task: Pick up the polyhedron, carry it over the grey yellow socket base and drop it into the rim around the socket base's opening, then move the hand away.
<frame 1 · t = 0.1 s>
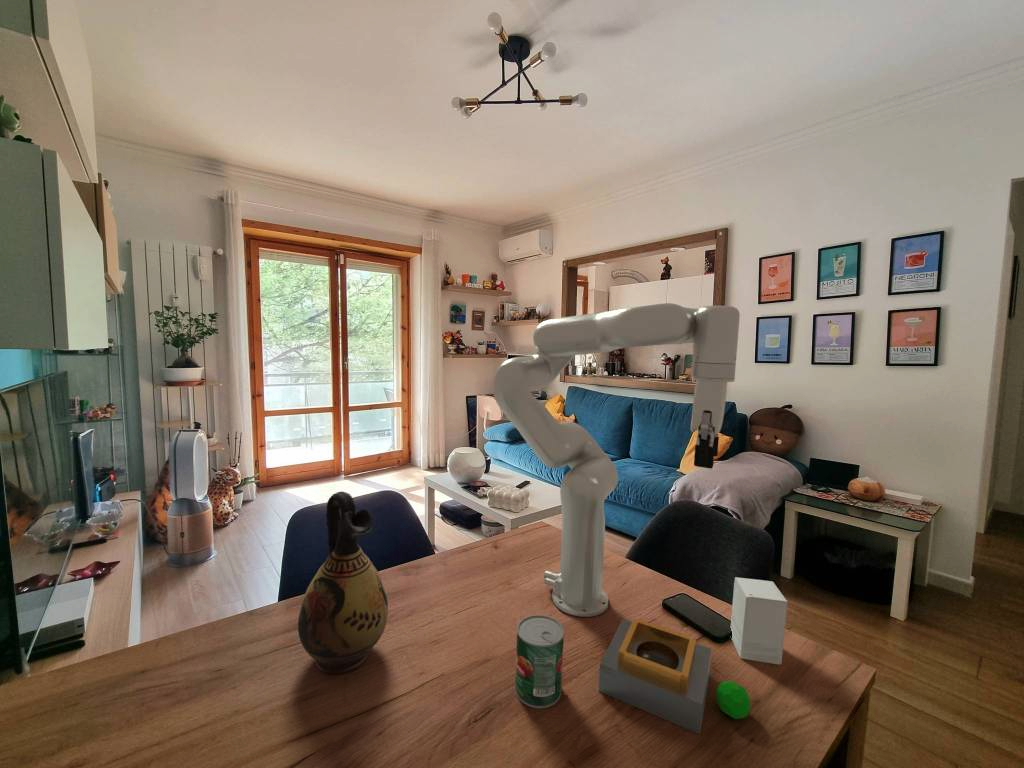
hand: (706, 460, 85), 37 cm above the table, tool pointing down, fingers open, 9 cm apart
grey yellow socket base: (655, 682, 77), on the table
canned tomato: (538, 690, 75), on the table
supplement box: (754, 650, 87), on the table
ceramic jug: (343, 653, 83), on the table
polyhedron: (731, 714, 72), on the table
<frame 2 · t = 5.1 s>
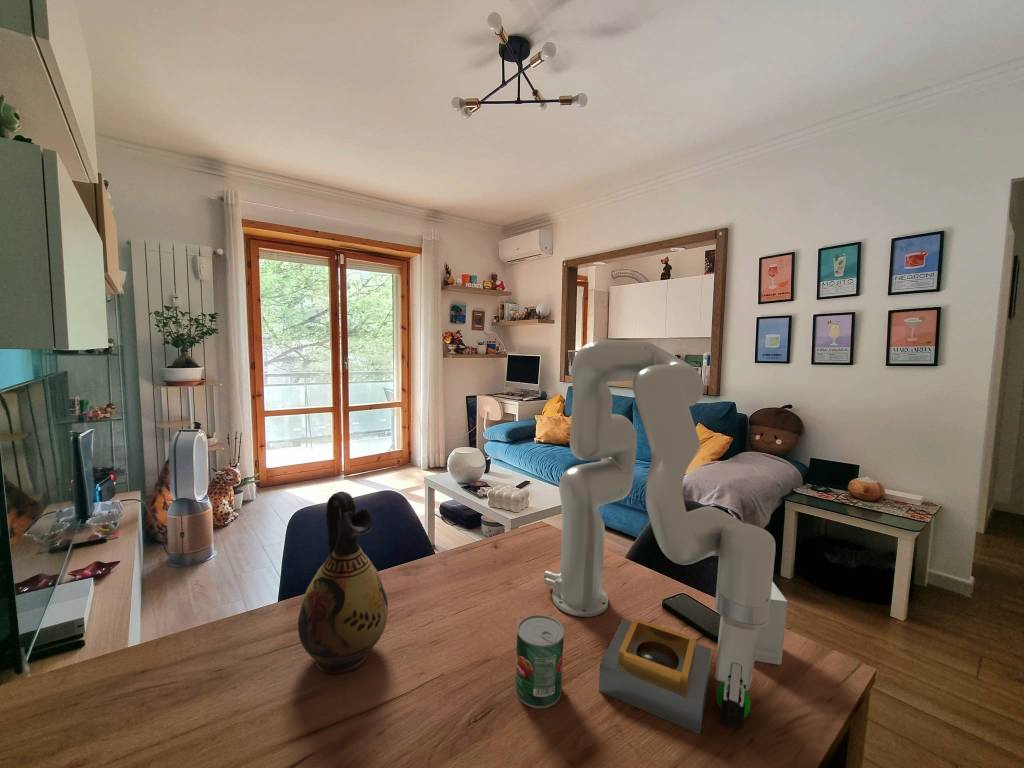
hand: (732, 708, 72), 1 cm above the table, tool pointing down, fingers closed on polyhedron, 5 cm apart
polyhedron: (731, 713, 72), on the table, touching gripper
everything else where it was.
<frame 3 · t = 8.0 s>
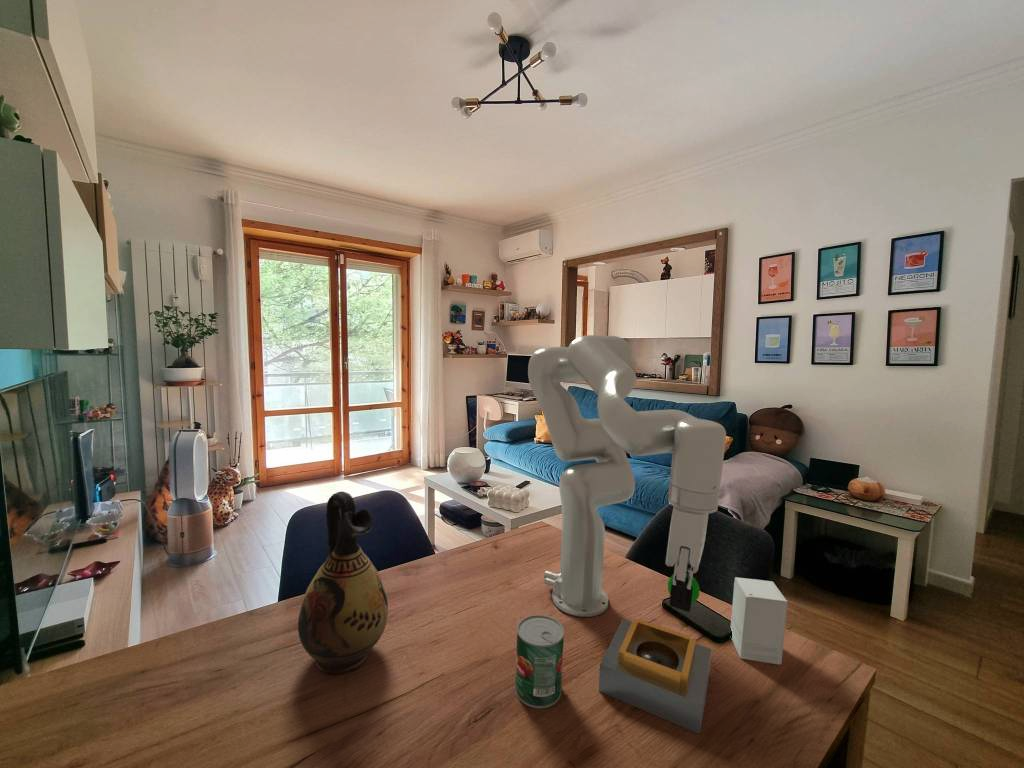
hand: (682, 597, 74), 17 cm above the table, tool pointing down, fingers closed on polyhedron, 5 cm apart
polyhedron: (682, 602, 75), point 16 cm above the table, touching gripper
everything else where it was.
when the fingers open (7 cm above the table, at t = 11.2 s): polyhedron drops 1 cm, resting on grey yellow socket base.
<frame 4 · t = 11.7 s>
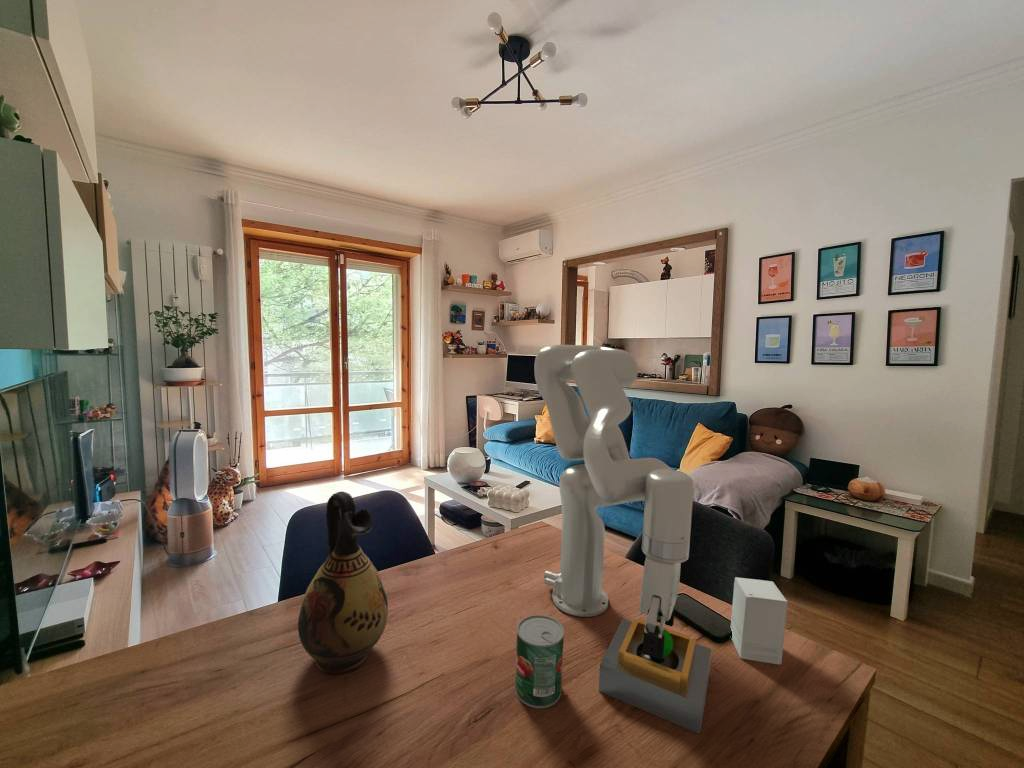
hand: (658, 638, 77), 8 cm above the table, tool pointing down, fingers open, 9 cm apart
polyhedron: (656, 655, 77), point 5 cm above the table, touching grey yellow socket base
everything else where it was.
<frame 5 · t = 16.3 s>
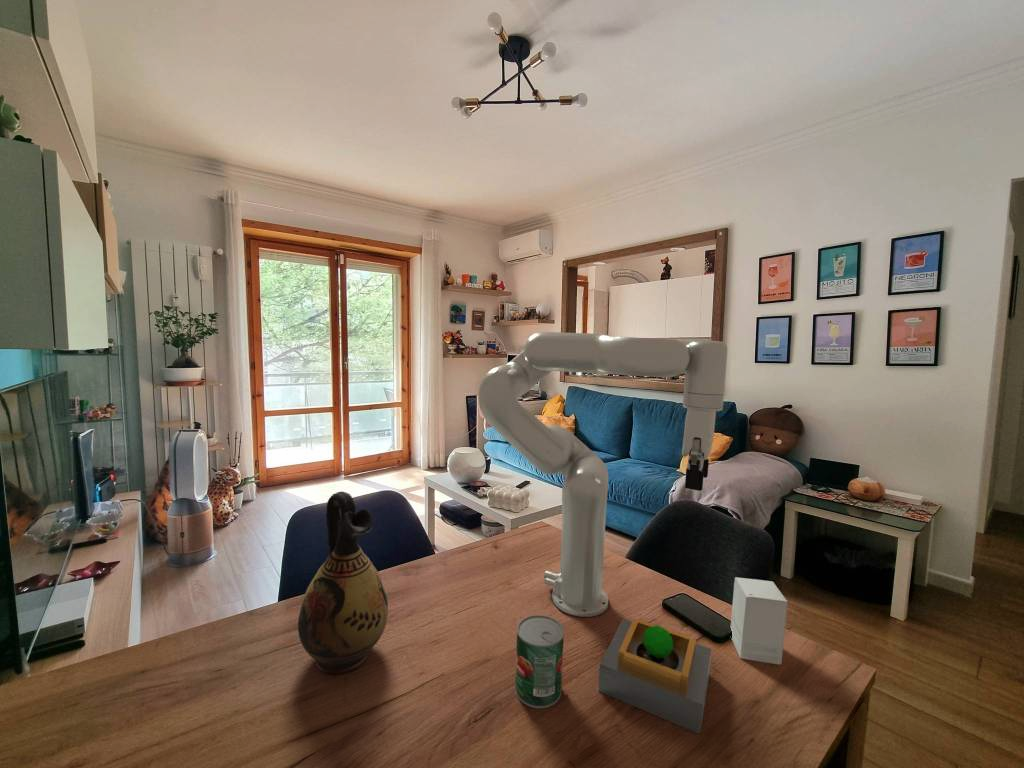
hand: (696, 482, 92), 30 cm above the table, tool pointing down, fingers open, 9 cm apart
nothing on the table moved.
at the end: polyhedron inside the target area on the grey yellow socket base (0.1 cm from its centre), point 5.0 cm above the grey yellow socket base's base; the gripper is holding nothing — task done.
